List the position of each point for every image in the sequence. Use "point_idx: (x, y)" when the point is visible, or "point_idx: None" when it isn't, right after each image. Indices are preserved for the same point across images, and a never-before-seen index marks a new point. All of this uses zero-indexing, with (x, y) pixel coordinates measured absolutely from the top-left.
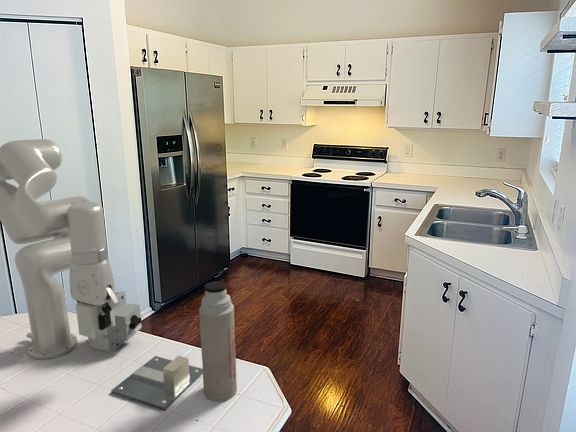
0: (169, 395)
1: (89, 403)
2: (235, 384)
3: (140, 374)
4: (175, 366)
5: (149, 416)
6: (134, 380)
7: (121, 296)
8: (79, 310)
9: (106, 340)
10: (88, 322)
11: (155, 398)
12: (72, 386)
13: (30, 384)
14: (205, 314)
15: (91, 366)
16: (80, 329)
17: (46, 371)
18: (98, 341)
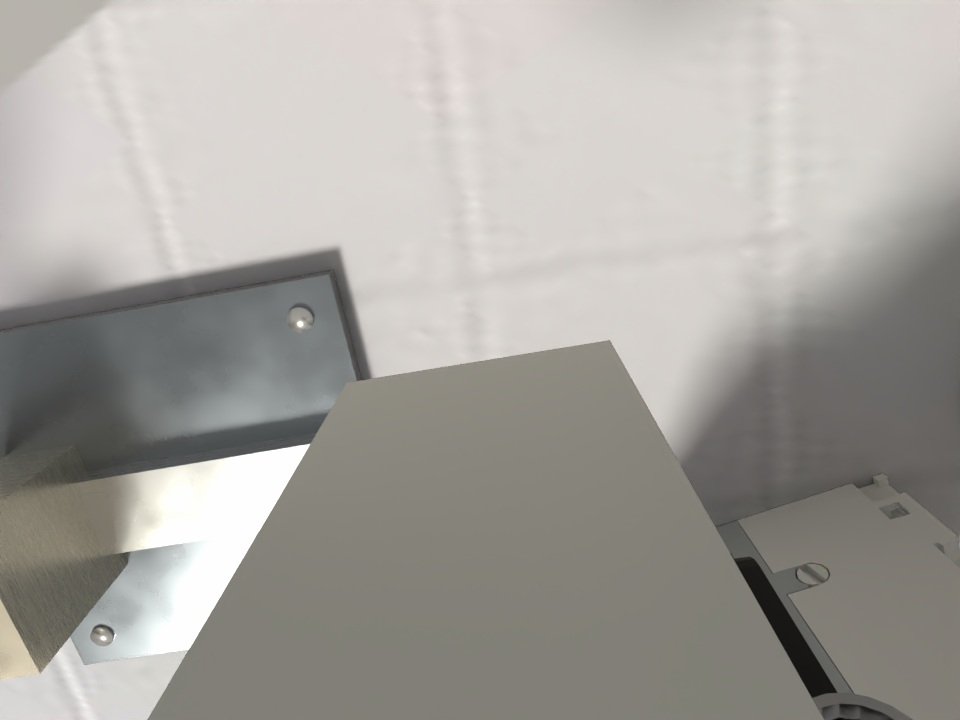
0: (11, 430)
1: (354, 130)
2: None
3: (286, 457)
4: None
5: None
6: (302, 411)
7: None
8: (629, 657)
9: (782, 559)
10: (350, 504)
11: (43, 371)
12: (612, 171)
13: (905, 10)
14: None
15: (692, 364)
16: (587, 379)
17: (930, 165)
18: (839, 530)
